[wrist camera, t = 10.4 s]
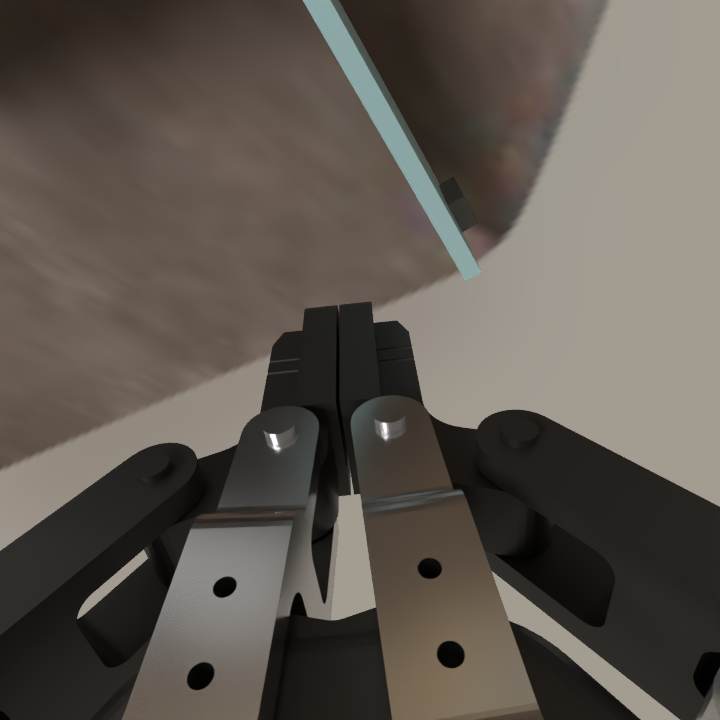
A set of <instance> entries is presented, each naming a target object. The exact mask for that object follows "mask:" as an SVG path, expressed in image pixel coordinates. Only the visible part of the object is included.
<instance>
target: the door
mask: <svg viewBox="0 0 720 720" xmlns="http://www.w3.org/2000/svg"><path fill="white" fill-rule="evenodd" d="M303 2H304V3H305V5H306V7H307V9H308V10H309V12H310V14H311V15H312V17H313V19H314V21H315V22H316V24H317V26H318V27H319V29H320V31H321V33H322V34H323V36H324V38H325V40H326V41H327V43H328V45H329V46H330V48H331V50H332V52H333V53H334V55H335V57H336V59H337V60H338V62H339V64H340V65H341V67H342V69H343V71H344V72H345V74H346V76H347V77H348V79H349V81H350V83H351V84H352V86H353V88H354V90H355V91H356V93H357V95H358V96H359V98H360V100H361V102H362V103H363V105H364V107H365V109H366V110H367V112H368V114H369V115H370V117H371V119H372V121H373V122H374V124H375V126H376V127H377V129H378V131H379V133H380V134H381V136H382V138H383V140H384V141H385V143H386V145H387V146H388V148H389V150H390V152H391V153H392V155H393V157H394V159H395V160H396V162H397V164H398V165H399V167H400V169H401V171H402V172H403V174H404V176H405V177H406V179H407V181H408V183H409V184H410V186H411V188H412V190H413V191H414V193H415V195H416V196H417V198H418V200H419V202H420V203H421V205H422V207H423V208H424V210H425V212H426V214H427V215H428V217H429V219H430V221H431V222H432V224H433V226H434V227H435V229H436V231H437V233H438V234H439V236H440V238H441V240H442V241H443V243H444V245H445V246H446V248H447V250H448V252H449V253H450V255H451V257H452V258H453V260H454V262H455V264H456V265H457V267H458V269H459V271H460V272H461V274H462V276H463V277H464V279H465V281H467V280H469V279H471V278H473V277H475V276H476V275H478V274H480V273H481V270H480V268H479V265H478V263H477V261H476V259H475V257H474V255H473V252H472V250H471V248H470V246H469V244H468V242H467V240H466V237H465V235H464V233H463V231H465V230H467V229H469V228H470V227H472V226H474V225H476V224H477V223H478V221H477V220H476V218H475V216H474V214H473V212H472V210H471V208H470V206H469V204H468V203H467V201H466V199H465V197H464V195H463V193H462V191H461V190H460V188H459V186H458V184H457V182H456V180H455V179H454V177H452V178H451V179H449V180H447V181H446V182H444V183H442V184H441V185H440V184H439V182H438V180H437V178H436V176H435V174H434V173H433V171H432V169H431V167H430V165H429V164H428V162H427V160H426V158H425V156H424V154H423V153H422V151H421V149H420V147H419V145H418V143H417V142H416V140H415V138H414V136H413V134H412V133H411V131H410V129H409V127H408V125H407V123H406V122H405V120H404V118H403V116H402V114H401V113H400V111H399V109H398V107H397V105H396V103H395V102H394V100H393V98H392V96H391V94H390V93H389V91H388V89H387V87H386V85H385V83H384V82H383V80H382V78H381V76H380V74H379V72H378V71H377V69H376V67H375V65H374V63H373V62H372V60H371V58H370V56H369V54H368V52H367V51H366V49H365V47H364V45H363V43H362V42H361V40H360V38H359V36H358V34H357V32H356V31H355V29H354V27H353V25H352V23H351V21H350V20H349V18H348V16H347V14H346V12H345V11H344V9H343V7H342V5H341V3H340V1H339V0H303Z"/></svg>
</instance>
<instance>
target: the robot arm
mask: <svg viewBox="0 0 720 720" xmlns="http://www.w3.org/2000/svg"><path fill="white" fill-rule="evenodd" d="M350 471H351V477H352V483H353V490H354V494H360V495H361V501H362V510H363V517H364V524H365V531H366V537H367V545H368V552H369V559H370V566H371V574H372V581H373V588H374V595H375V601H376V608H373V609H370V610H367V611H365V612H361V613H359V614H356V615H353V616H350V617H347V618H344V619H340V620H334V621H331V608H332V598H333V587H334V576H335V565H336V554H337V543H338V533H339V532H338V522H337V517H338V496H345V495H351V481H350ZM143 549H144V551H145V552H146V554H147V557H148V559H147V560H146V561H145V562H144V563H143V564H142V565H141V566H139V567H138V568H137V569H136V570H135V571H134V572H132V573H131V574H130V575H129V576H128V577H127V578H126V579H125V580H123V581H122V582H121V583H120V584H119V585H118V586H116V587H115V588H114V589H113V590H112V591H111V592H110V593H108V595H106V596H105V597H104V598H103V599H102V600H101V601H99V602H98V603H97V604H96V605H95V606H94V607H93V608H91V609H90V610H89V611H88V612H87V613H86V614H84V615H83V616H82V617H80V618H79V619H77V616H78V612H79V610H80V608H81V606H82V604H83V603H84V602H85V600H86V599H87V598H88V597H89V596H90V595H91V594H92V593H93V592H94V591H96V590H97V589H98V588H99V587H100V586H101V585H103V584H104V583H105V582H106V581H107V580H108V579H110V578H111V577H112V576H113V575H114V574H115V573H117V572H118V571H119V570H120V569H121V568H122V567H124V566H125V565H126V564H127V563H128V562H129V561H130V560H132V559H133V558H134V557H135V556H136V555H138V554H139V553H140V552H141V551H142V550H143ZM492 571H493V572H494V573H495V574H497V575H498V576H499V577H500V578H502V579H503V580H504V581H506V582H507V583H508V584H509V585H510V586H512V587H513V588H514V589H516V590H517V591H518V592H519V593H521V594H522V595H523V596H524V597H526V598H527V599H528V600H530V601H531V602H532V603H533V604H535V605H536V606H537V607H538V608H540V609H541V610H542V611H543V612H545V613H546V614H547V615H548V616H550V617H551V618H552V619H554V620H555V621H556V622H557V623H559V624H560V625H561V626H562V627H564V628H565V629H566V630H567V631H569V632H570V633H571V634H573V635H574V636H575V637H576V638H578V639H579V640H580V641H581V642H583V643H584V644H585V645H586V646H588V647H589V648H590V649H592V650H593V651H594V652H596V653H597V654H598V655H599V656H600V657H602V658H603V659H604V660H605V661H607V662H608V663H609V664H611V665H612V666H613V667H614V668H616V669H617V670H618V671H619V672H621V673H622V674H623V675H625V676H626V677H627V678H628V679H630V680H631V681H632V682H634V683H635V684H636V685H637V686H639V687H640V688H641V689H642V690H644V691H645V692H646V693H647V694H649V695H650V696H651V697H652V698H654V699H655V700H656V701H658V702H659V703H660V704H661V705H662V706H664V707H665V708H666V709H668V710H669V711H670V712H671V713H673V714H674V715H675V716H676V717H678V718H679V719H680V720H720V507H719V506H717V505H715V504H713V503H711V502H709V501H707V500H705V499H704V498H702V497H700V496H698V495H696V494H694V493H692V492H690V491H688V490H686V489H684V488H682V487H680V486H678V485H676V484H675V483H672V482H671V481H669V480H667V479H665V478H663V477H661V476H659V475H657V474H655V473H653V472H651V471H649V470H647V469H645V468H643V467H642V466H640V465H638V464H636V463H634V462H632V461H630V460H628V459H626V458H624V457H622V456H620V455H618V454H616V453H614V452H612V451H611V450H609V449H606V448H605V447H603V446H601V445H599V444H597V443H595V442H593V441H591V440H589V439H587V438H585V437H583V436H581V435H580V434H578V433H575V432H574V431H572V430H570V429H568V428H566V427H564V426H562V425H560V424H558V423H556V422H554V421H552V420H551V419H549V418H546V417H545V416H542V415H540V414H537V413H534V412H530V411H525V410H506V411H501V412H497V413H494V414H492V415H490V416H488V417H487V418H485V419H484V420H483V421H482V422H481V423H480V425H479V426H478V429H470V428H462V427H456V426H452V425H448V424H446V423H443V422H441V421H439V420H437V419H436V418H434V417H433V416H432V415H430V414H429V412H428V411H427V409H426V408H425V407H424V404H423V401H422V396H421V391H420V387H419V381H418V376H417V371H416V367H415V361H414V356H413V351H412V346H411V341H410V336H409V332H408V331H407V330H406V329H405V328H404V327H403V326H402V325H401V324H400V323H399V322H398V321H389V322H378V323H373V313H372V304H371V302H362V303H353V304H343V305H340V306H339V311H338V307H337V305H335V306H325V307H316V308H307V309H305V312H304V321H303V331H294V332H285V333H283V334H282V336H281V337H280V338H279V339H278V340H277V341H276V343H275V344H274V345H273V346H272V352H271V357H270V363H269V368H268V375H267V379H266V385H265V390H264V396H263V401H262V406H261V412H260V414H258V415H257V416H255V417H254V418H252V419H251V420H250V421H249V422H248V423H247V425H246V426H245V427H244V429H243V431H242V434H241V437H240V440H239V443H238V444H237V445H235V446H233V447H231V448H229V449H226V450H224V451H221V452H218V453H215V454H212V455H209V456H206V457H203V458H200V459H197V457H196V455H195V453H194V451H193V450H192V449H190V448H189V447H188V446H185V445H182V444H179V443H163V444H158V445H154V446H151V447H148V448H146V449H144V450H142V451H140V452H138V453H136V454H135V455H133V456H131V457H130V458H129V459H127V460H126V461H124V462H123V463H122V464H120V465H119V466H117V467H116V468H115V469H113V470H112V471H110V472H109V473H108V474H106V475H105V476H104V477H102V478H101V479H99V480H98V481H97V482H95V483H94V484H93V485H91V486H90V487H88V488H87V489H86V490H84V491H83V492H81V493H80V494H79V495H77V496H76V497H74V498H73V499H72V500H70V501H69V502H68V503H66V504H65V505H63V506H62V507H61V508H59V509H58V510H57V511H55V512H54V513H52V514H51V515H50V516H48V517H47V518H45V519H44V520H43V521H41V522H40V523H38V524H37V525H36V526H34V527H33V528H32V529H30V530H29V531H28V532H26V533H25V534H23V535H22V536H21V537H19V538H18V539H16V540H15V541H14V542H12V543H11V544H9V545H8V546H7V547H5V548H4V549H3V550H1V551H0V720H640V719H639V718H638V717H637V716H636V715H635V714H633V713H632V712H631V711H630V710H629V709H627V707H625V706H624V705H623V704H622V703H621V702H620V701H619V700H617V699H616V698H615V697H614V696H613V695H611V693H609V692H608V691H607V690H606V689H605V688H604V687H603V686H601V685H600V684H599V683H598V682H597V681H596V680H595V679H593V678H592V677H591V676H590V675H589V674H588V673H587V672H585V671H584V670H583V669H582V668H581V667H580V666H579V665H577V664H576V663H575V662H574V661H573V660H572V659H571V658H569V657H568V656H567V655H566V654H565V653H563V652H562V651H561V650H560V649H559V648H557V647H556V646H554V645H553V644H551V643H550V642H548V641H547V640H546V639H544V638H543V637H541V636H539V635H537V634H536V633H534V632H532V631H530V630H528V629H527V628H525V627H523V626H520V625H517V624H515V623H513V622H510V621H509V620H508V617H507V615H506V612H505V609H504V606H503V603H502V600H501V597H500V594H499V592H498V589H497V586H496V583H495V580H494V577H493V574H492Z"/></svg>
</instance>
